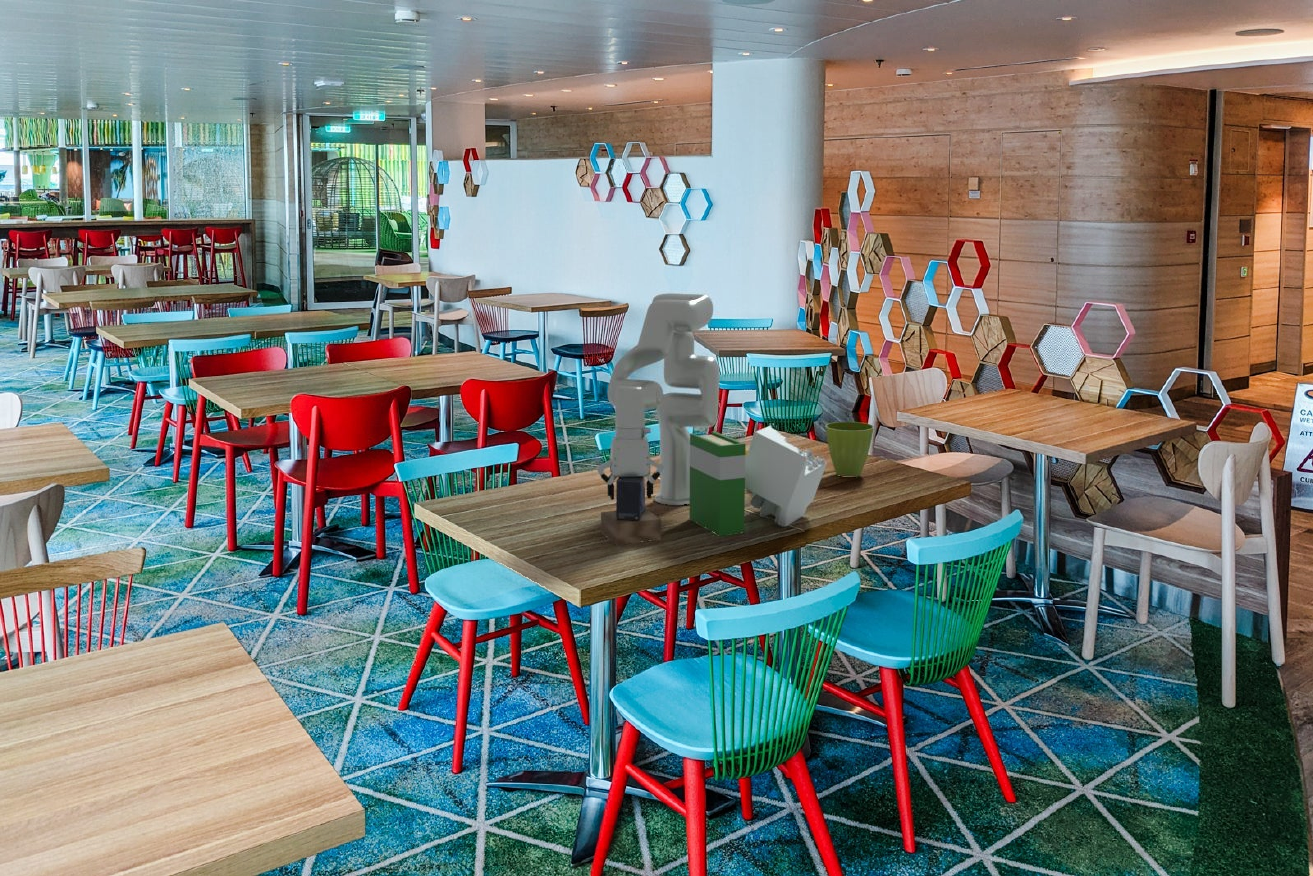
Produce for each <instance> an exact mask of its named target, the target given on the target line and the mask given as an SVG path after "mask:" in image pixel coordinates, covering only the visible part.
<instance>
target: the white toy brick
mask: <svg viewBox="0 0 1313 876" xmlns="http://www.w3.org/2000/svg"><path fill="white" fill-rule="evenodd" d="M747 450H748V453H747V456H746V459H745V490H747V491H749V492H751V493H752V496H753V498H752V499H751V500H750V501H749V504H750V505H751V506H752V507H753V508H756V509H758V510H759V514H758V515H759V516H760V517H761V518H763V519H765V518H766V517H767V516H768V515H769V516H770V515H772V516H773V517H775V519H774V524H777V525H778V526H780V527H784V528H786V527H788V526H790V525H791V524H793V523H794V522H796V521H797V520H798V519H801V518H803V517H804V516H805V513H806V510H807V508H808V506H810V504H812V502H813V501H814V498H815V496H816V493H817V490H818V488H819V485H820V482H821V480H822V478H823V475H824V472H825V469H826V467H827V464H828V463H827V462H826V459H825V457H822V458H821V457H820V456H819V455H817V456H815V455H813V452H812V449H811V448H810V449H808V450H807V449H806V448H805V449H804V450H805V451H804V450H803V449H802V448H798V447H796V446H794V445H793V444H791V442H787V437H786V436H784V435H782V434H781V433H780V432H778V430H776V429H774V428H773V427H772V425H768V426H767V427H766V426H765V427H763V428H762V429H759V430H757V431H755V432H754V434H753V437H752V440H751V443H750V445H749V448H748V449H747ZM764 517H765V518H764ZM792 522H793V523H792Z"/></svg>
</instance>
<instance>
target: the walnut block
mask: <svg viewBox="0 0 1313 876" xmlns="http://www.w3.org/2000/svg"><path fill="white" fill-rule="evenodd" d="M600 533H601V534H602V535H603V534H604V536H605V537H606V536H607V537H608V538H607V537H606V538H607V539H609V540H610V541H611V540H612V541H611V542H612V543H614V542H615V543H616V544H615V543H614V544H615V545H617V546H622V544H624V545H628V544H627V543H632V544H637V543H636V542H640V543H642V542H641V541H648V542H650V541H649V540H656V541H660V540H659V539H661V540H662V519H661V518H660V517H659V516H658V515H656V514H654V513H653V512H651V511H650V510H648V509H646V508H645V511H644V513H643V514H642V516H641V518H640V520H639V521H634V520H616V510H611V511H602V512H600Z"/></svg>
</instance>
